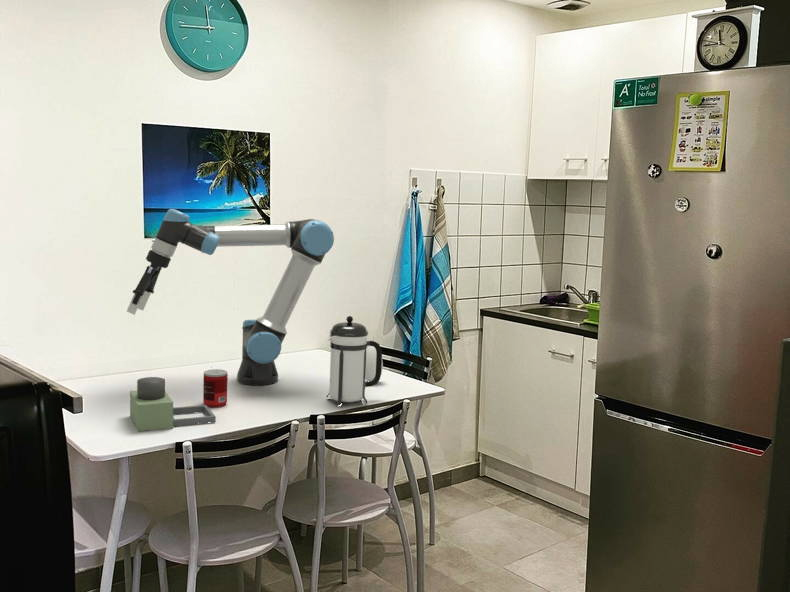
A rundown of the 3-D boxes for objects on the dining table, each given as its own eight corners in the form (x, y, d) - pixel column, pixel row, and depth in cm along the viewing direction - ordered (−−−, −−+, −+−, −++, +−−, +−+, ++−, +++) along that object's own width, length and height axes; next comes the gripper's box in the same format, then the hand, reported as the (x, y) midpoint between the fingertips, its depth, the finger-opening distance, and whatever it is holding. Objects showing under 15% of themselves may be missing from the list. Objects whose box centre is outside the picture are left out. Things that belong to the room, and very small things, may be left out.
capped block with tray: (204, 409, 249) (205, 370, 247) (216, 424, 235) (217, 382, 233) (130, 416, 239) (130, 375, 237) (137, 431, 225) (137, 388, 223)
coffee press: (359, 411, 255) (363, 322, 251) (316, 404, 261) (319, 316, 257) (380, 399, 271) (384, 314, 267) (340, 392, 277) (343, 310, 273)
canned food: (228, 401, 260) (229, 369, 258) (224, 408, 252) (225, 375, 250) (205, 400, 259) (206, 368, 258) (201, 407, 251) (201, 374, 250)
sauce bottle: (381, 385, 289) (383, 338, 286) (360, 384, 289) (362, 337, 286) (382, 380, 296) (384, 334, 294) (362, 379, 297) (364, 333, 294)
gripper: (157, 248, 271) (132, 303, 271) (142, 249, 246) (115, 309, 247) (177, 257, 272) (152, 311, 272) (164, 259, 247) (137, 319, 248)
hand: (134, 311), depth 260 cm, fingers open, 13 cm apart
